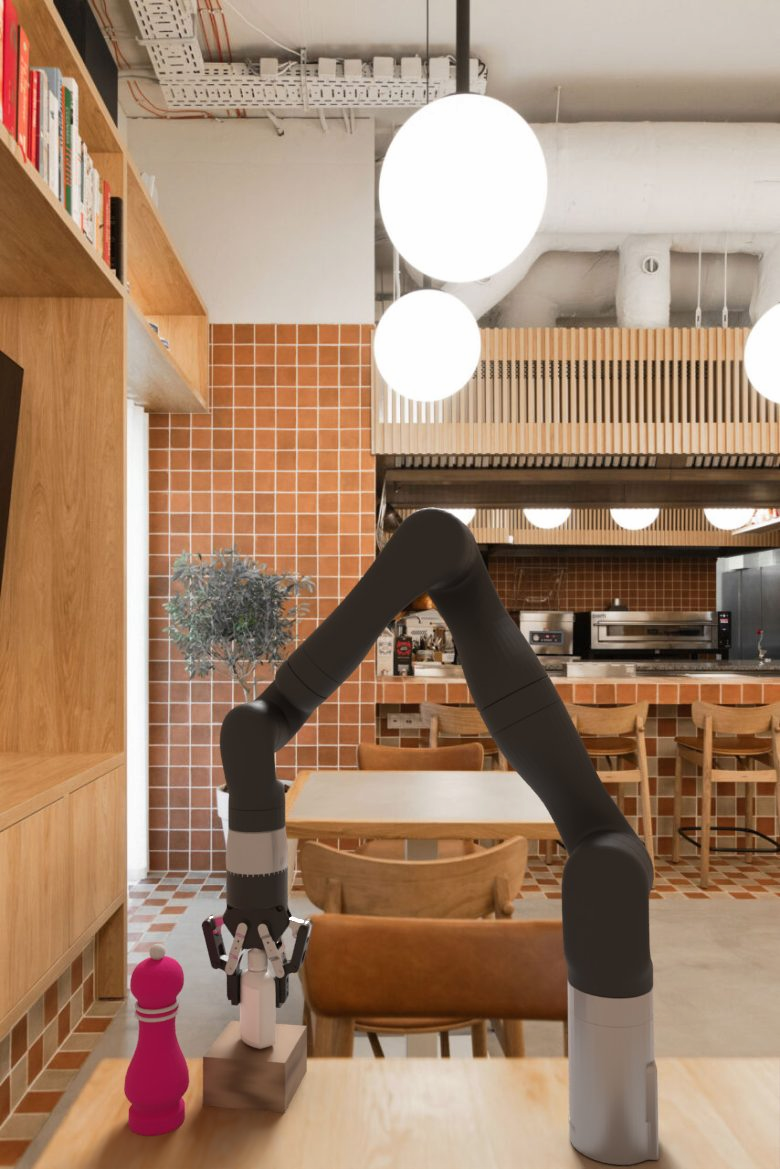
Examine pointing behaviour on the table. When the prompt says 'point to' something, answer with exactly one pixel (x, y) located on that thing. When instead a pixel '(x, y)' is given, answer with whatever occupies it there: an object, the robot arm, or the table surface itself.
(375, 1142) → the table surface
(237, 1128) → the table surface
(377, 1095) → the table surface
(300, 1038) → the walnut box
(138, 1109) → the pepper mill
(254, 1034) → the eye dropper bottle
